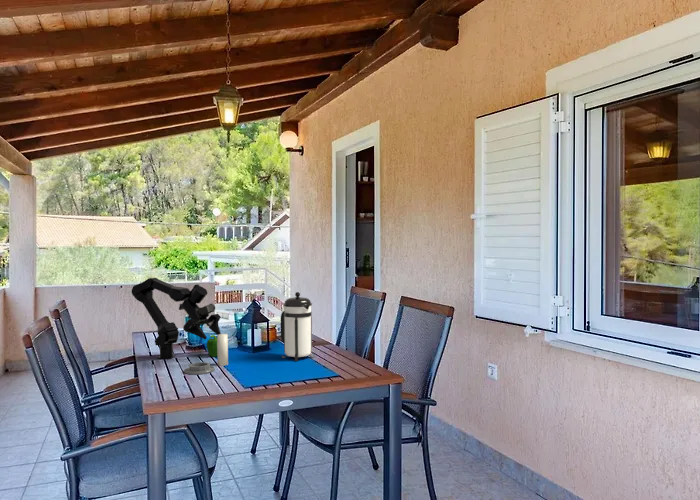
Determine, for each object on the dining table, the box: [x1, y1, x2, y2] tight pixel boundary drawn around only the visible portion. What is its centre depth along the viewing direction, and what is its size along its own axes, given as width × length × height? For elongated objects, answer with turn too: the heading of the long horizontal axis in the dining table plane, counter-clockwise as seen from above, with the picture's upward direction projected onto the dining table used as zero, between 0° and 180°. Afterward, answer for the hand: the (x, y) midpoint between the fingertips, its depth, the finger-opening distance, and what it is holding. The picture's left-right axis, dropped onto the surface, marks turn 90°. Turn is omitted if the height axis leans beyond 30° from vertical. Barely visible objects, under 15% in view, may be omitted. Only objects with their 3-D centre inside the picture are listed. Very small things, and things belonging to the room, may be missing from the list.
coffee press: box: [280, 291, 316, 362], centre depth 242 cm, size 17×16×30 cm
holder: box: [184, 361, 216, 376], centre depth 219 cm, size 12×12×3 cm
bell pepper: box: [206, 334, 218, 358], centre depth 247 cm, size 8×8×10 cm
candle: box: [216, 333, 229, 367], centre depth 230 cm, size 4×4×13 cm
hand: (213, 336), depth 232 cm, fingers open, 9 cm apart
